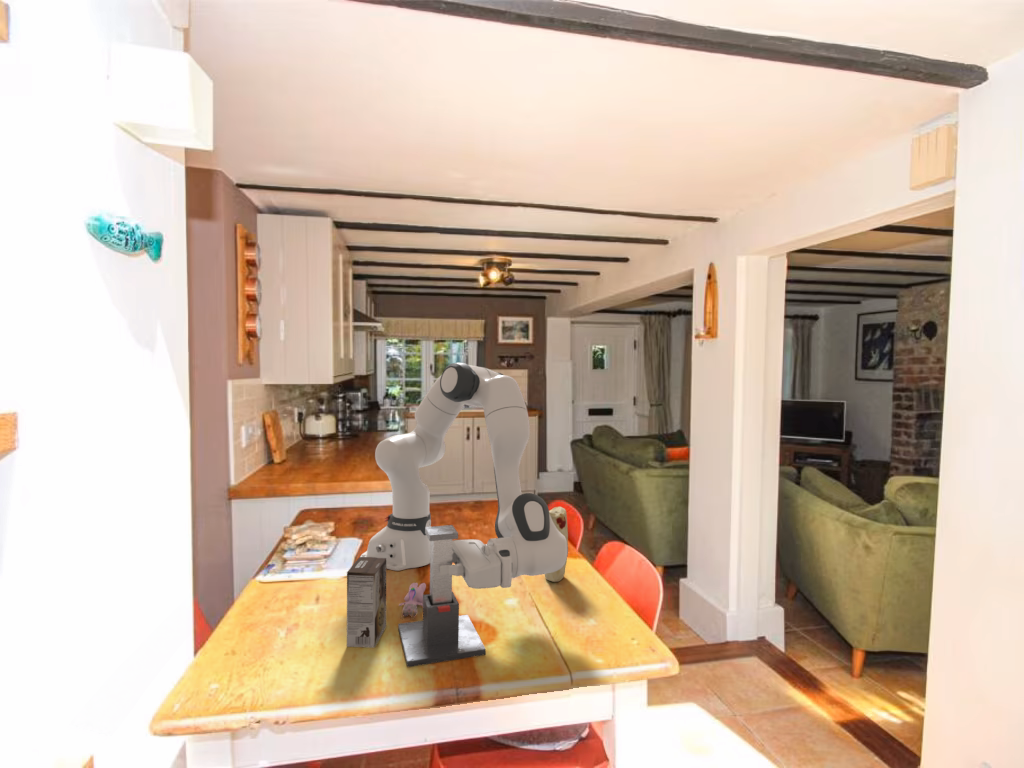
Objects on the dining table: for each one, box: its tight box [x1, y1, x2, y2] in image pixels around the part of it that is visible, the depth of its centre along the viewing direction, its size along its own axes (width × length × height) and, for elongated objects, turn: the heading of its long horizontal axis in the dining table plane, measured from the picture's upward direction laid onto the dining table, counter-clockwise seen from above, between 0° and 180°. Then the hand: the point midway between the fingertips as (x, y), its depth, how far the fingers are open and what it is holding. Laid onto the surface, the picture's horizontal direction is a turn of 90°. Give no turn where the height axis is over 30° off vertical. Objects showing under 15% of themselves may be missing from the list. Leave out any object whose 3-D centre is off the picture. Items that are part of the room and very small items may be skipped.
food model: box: [544, 506, 569, 583], centre depth 151 cm, size 10×7×20 cm
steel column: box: [425, 524, 459, 606], centre depth 115 cm, size 6×6×21 cm
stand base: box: [397, 590, 487, 668], centre depth 115 cm, size 16×16×9 cm
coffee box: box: [346, 556, 387, 649], centre depth 116 cm, size 9×6×16 cm
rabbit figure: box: [398, 582, 427, 620], centre depth 132 cm, size 6×6×15 cm
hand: (436, 565), depth 114 cm, fingers closed on steel column, 4 cm apart
